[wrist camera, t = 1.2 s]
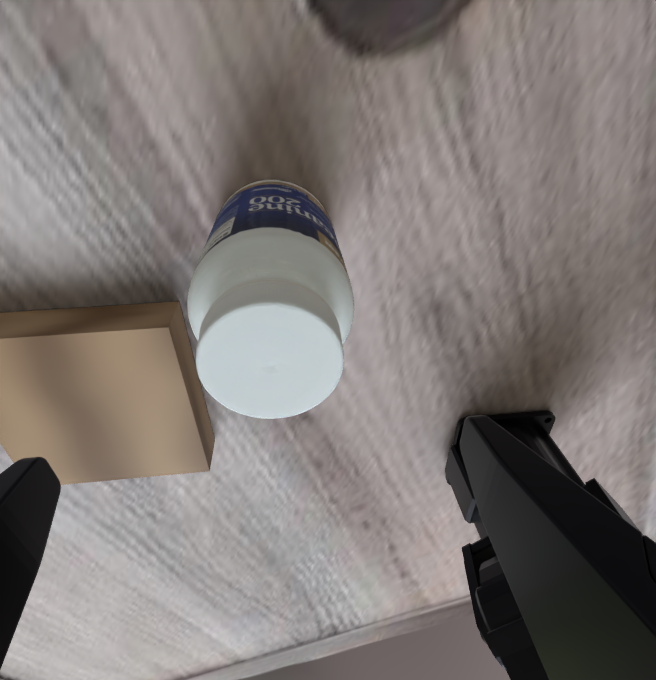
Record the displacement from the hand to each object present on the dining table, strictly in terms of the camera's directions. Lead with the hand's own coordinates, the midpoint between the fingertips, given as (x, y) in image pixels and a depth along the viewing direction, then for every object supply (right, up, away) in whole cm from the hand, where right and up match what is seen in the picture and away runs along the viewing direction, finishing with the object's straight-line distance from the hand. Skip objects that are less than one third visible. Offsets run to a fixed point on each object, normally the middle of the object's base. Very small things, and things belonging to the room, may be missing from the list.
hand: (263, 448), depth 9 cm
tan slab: (-11, 0, +14) cm, 18 cm away
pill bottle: (-1, +7, +10) cm, 13 cm away
